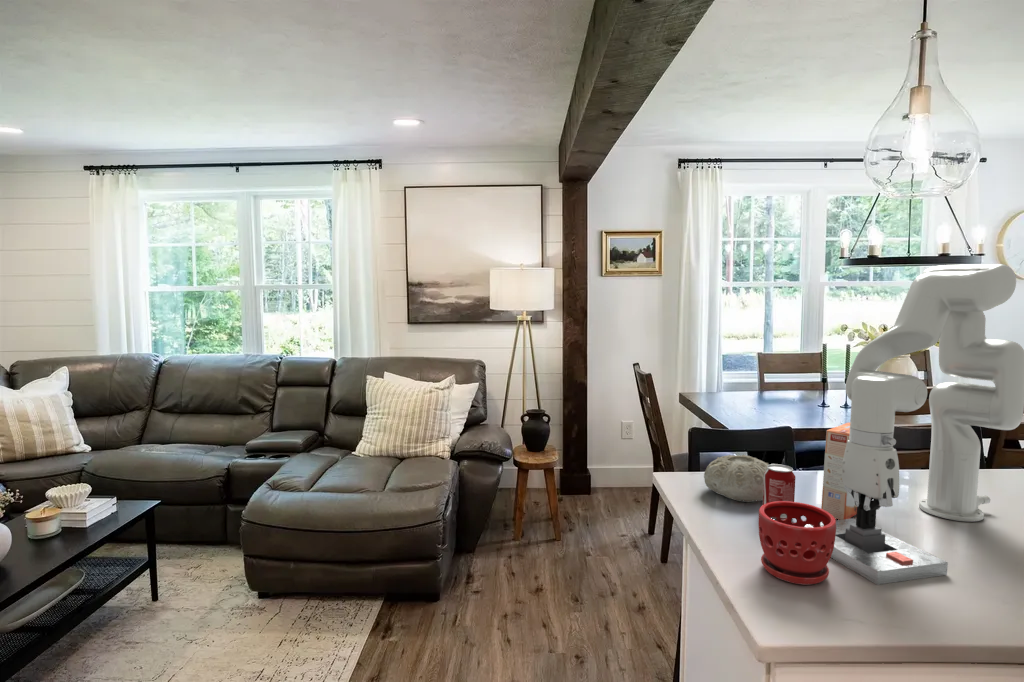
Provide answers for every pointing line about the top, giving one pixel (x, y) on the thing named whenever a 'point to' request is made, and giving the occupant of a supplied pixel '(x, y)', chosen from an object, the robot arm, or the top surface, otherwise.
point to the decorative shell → (736, 477)
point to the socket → (885, 558)
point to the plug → (866, 538)
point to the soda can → (778, 485)
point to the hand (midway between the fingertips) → (865, 526)
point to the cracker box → (836, 475)
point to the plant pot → (796, 541)
